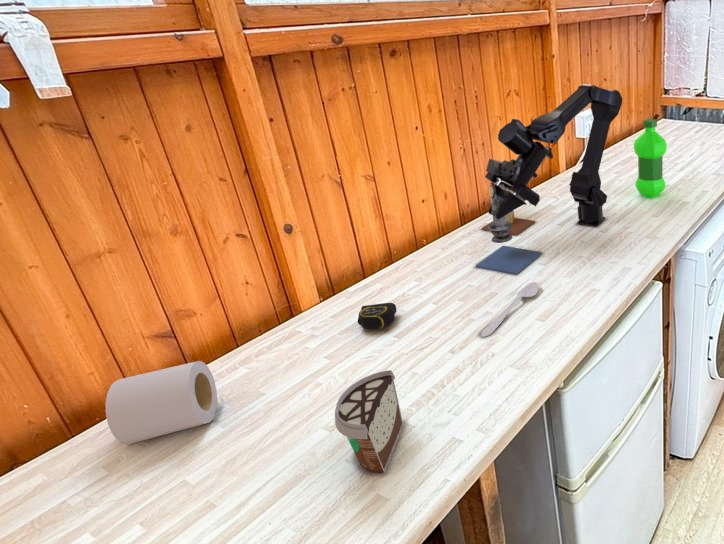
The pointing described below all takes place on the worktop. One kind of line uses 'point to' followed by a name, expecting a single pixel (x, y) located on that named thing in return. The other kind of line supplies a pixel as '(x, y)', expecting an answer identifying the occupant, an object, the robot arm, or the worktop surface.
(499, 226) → the grey chess piece
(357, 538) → the worktop surface
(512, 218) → the shoe polish box
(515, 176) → the robot arm
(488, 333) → the spoon
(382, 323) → the tape measure
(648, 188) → the plastic bottle
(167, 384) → the toilet paper
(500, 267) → the blue mat
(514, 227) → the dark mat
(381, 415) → the food container
